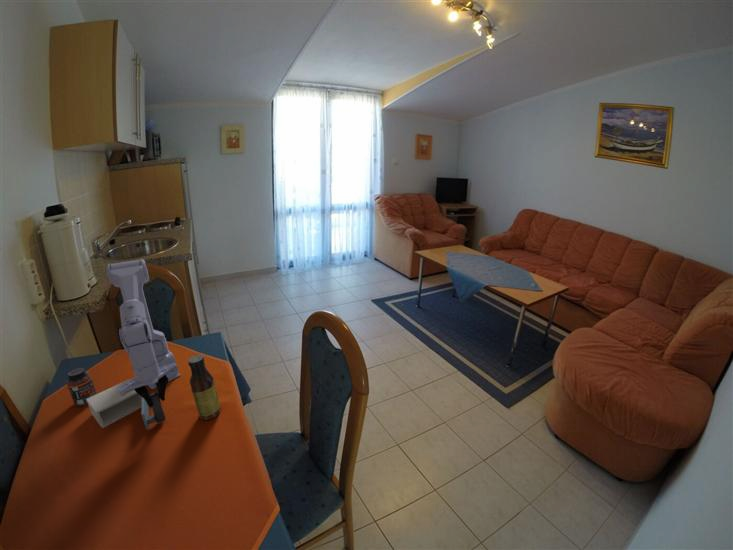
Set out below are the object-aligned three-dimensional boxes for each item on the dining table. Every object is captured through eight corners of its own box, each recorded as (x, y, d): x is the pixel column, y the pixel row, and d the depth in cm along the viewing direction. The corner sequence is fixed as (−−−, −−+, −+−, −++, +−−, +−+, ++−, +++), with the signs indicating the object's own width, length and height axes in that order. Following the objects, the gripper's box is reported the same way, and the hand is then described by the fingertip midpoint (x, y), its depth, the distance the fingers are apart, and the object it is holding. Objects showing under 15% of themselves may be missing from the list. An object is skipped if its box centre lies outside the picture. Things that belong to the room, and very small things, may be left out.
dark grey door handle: (146, 404, 107) (138, 380, 103) (164, 398, 109) (157, 374, 106) (146, 429, 97) (137, 403, 94) (166, 422, 100) (158, 396, 96)
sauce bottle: (225, 409, 105) (214, 355, 98) (209, 423, 100) (195, 367, 92) (210, 403, 107) (198, 350, 100) (193, 417, 102) (179, 362, 95)
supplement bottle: (85, 408, 106) (73, 379, 102) (70, 406, 108) (57, 376, 103) (102, 395, 112) (92, 367, 108) (88, 393, 113) (77, 365, 109)
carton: (135, 393, 113) (130, 378, 111) (146, 404, 108) (142, 389, 105) (92, 414, 104) (86, 399, 102) (102, 428, 99) (96, 412, 96)
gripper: (118, 382, 85) (132, 423, 90) (178, 355, 96) (187, 394, 101) (109, 371, 90) (123, 411, 95) (167, 347, 100) (177, 384, 105)
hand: (156, 402), depth 98 cm, fingers open, 3 cm apart
